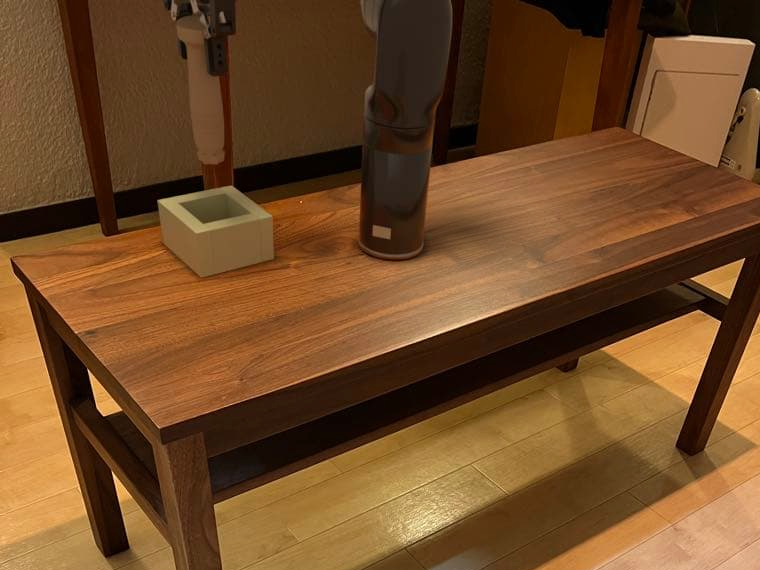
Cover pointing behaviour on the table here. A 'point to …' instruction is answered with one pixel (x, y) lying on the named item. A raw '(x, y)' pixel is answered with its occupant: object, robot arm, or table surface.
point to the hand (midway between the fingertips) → (202, 65)
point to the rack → (216, 230)
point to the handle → (202, 94)
